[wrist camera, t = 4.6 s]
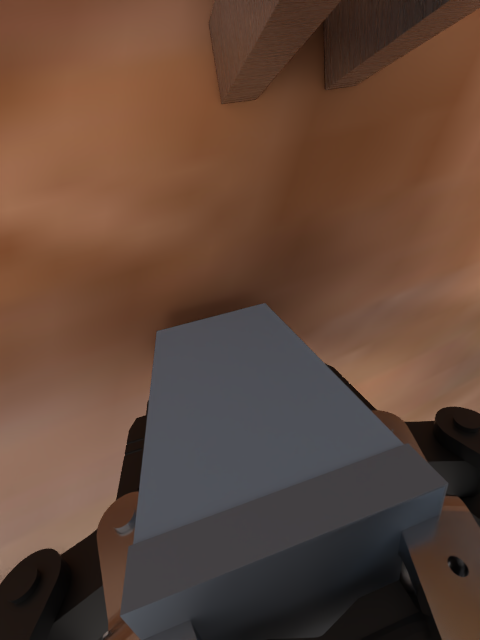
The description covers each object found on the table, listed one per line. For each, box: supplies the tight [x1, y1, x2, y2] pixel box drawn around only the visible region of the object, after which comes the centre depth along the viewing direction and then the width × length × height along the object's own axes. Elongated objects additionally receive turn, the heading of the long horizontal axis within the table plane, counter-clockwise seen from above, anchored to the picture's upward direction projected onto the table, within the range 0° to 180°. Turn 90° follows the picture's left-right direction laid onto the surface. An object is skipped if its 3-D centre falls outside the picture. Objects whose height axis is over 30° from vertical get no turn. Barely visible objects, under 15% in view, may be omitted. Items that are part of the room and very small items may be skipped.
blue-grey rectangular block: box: [120, 303, 448, 640], centre depth 9 cm, size 5×5×9 cm
